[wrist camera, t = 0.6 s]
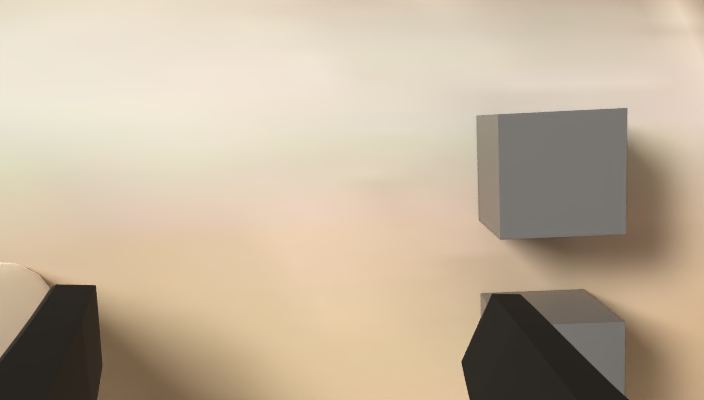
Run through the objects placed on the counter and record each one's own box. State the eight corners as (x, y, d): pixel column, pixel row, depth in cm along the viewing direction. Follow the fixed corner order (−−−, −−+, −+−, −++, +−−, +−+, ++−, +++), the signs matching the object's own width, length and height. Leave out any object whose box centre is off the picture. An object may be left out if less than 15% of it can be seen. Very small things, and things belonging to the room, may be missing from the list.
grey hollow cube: (583, 289, 34) (625, 321, 28) (583, 386, 34) (624, 436, 29) (480, 293, 34) (501, 326, 28) (482, 390, 35) (503, 440, 29)
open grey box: (584, 110, 32) (627, 107, 27) (583, 215, 33) (626, 234, 28) (476, 115, 32) (497, 114, 27) (478, 220, 33) (500, 239, 28)
